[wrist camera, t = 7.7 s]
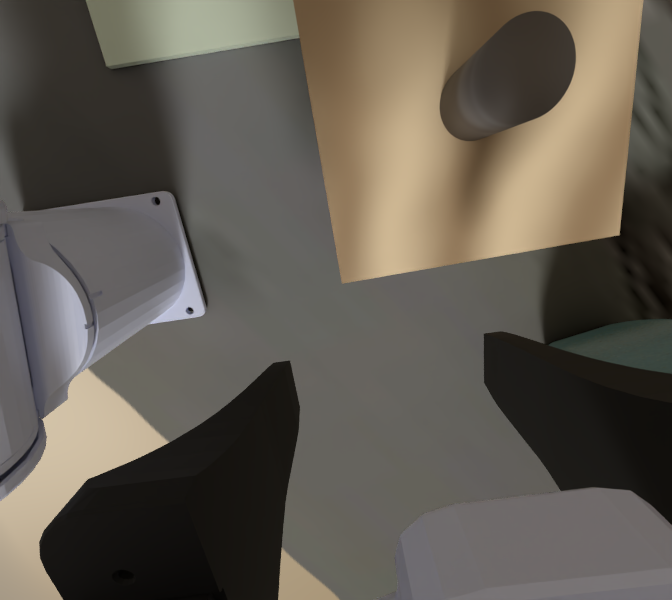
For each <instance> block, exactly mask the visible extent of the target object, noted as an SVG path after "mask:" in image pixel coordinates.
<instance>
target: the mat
mask: <svg viewBox="0 0 672 600" xmlns="http://www.w3.org/2000/svg"><path fill="white" fill-rule="evenodd" d="M86 3H87V6H88V9H89V12H90V16H91V19H92V22H93V25H94V28H95V32H96V35H97V38H98V41H99V44H100V47H101V51H102V54H103V57H104V60H105V63H106V66H107V67H108V68H110V69H115V68H122V67H128V66H134V65H140V64H146V63H152V62H158V61H164V60H170V59H176V58H182V57H188V56H194V55H200V54H206V53H212V52H218V51H224V50H230V49H236V48H242V47H248V46H254V45H260V44H267V43H273V42H279V41H285V40H291V39H297V38H300V37H299V32H298V26H297V20H296V14H295V8H294V3H293V0H86Z"/></svg>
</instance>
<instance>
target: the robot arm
mask: <svg viewBox="0 0 672 600" xmlns="http://www.w3.org/2000/svg"><path fill="white" fill-rule="evenodd" d="M156 197H158V198H159V199H160V205H157V204H156V203H155V198H156ZM188 307H191V308H192V309H193V310H194V313H191V312H190V311H189V310H188ZM206 310H207V308H206V304H205V300H204V297H203V293H202V290H201V287H200V283H199V280H198V276H197V273H196V269H195V266H194V262H193V259H192V256H191V252H190V249H189V245H188V242H187V238H186V235H185V231H184V228H183V225H182V221H181V218H180V214H179V211H178V207H177V204H176V200H175V198H174V196H173V194H171V193H170V192H168V191H159V192H153V193H147V194H140V195H134V196H128V197H121V198H115V199H109V200H102V201H96V202H90V203H83V204H77V205H71V206H64V207H58V208H52V209H45V210H39V211H19V212H7V206H6V204H5V202H4V201H3V200H1V199H0V501H1V500H2V499H4V498H5V497H6V496H8V495H9V494H10V493H11V492H12V491H13V490H14V489H15V488H16V487H17V486H19V485H20V484H21V483H22V482H23V481H24V480H25V478H26V477H27V476H28V475H29V474H30V473H31V472H32V471H33V469H34V468H35V466H36V465H37V464H38V462H39V461H40V459H41V457H42V454H43V452H44V449H45V446H46V438H47V437H46V432H45V427H44V423H43V421H42V420H41V419H43V418H44V417H46V416H47V415H48V414H49V413H50V412H52V411H53V410H54V409H56V408H57V407H58V406H60V405H61V404H62V403H63V402H64V401H66V400H67V399H68V395H67V394H68V393H67V391H68V387H69V384H70V382H71V380H72V379H73V378H74V377H75V376H77V375H78V374H79V373H80V372H82V371H83V370H85V369H86V368H88V367H89V366H91V365H92V364H93V363H95V362H96V361H98V360H99V359H100V358H102V357H103V356H105V355H106V354H107V353H109V352H110V351H111V350H113V349H114V348H116V347H117V346H118V345H120V344H121V343H123V342H124V341H125V340H127V339H128V338H130V337H131V336H132V335H134V334H135V333H137V332H138V331H139V330H141V329H142V328H144V327H145V326H146V325H148V324H153V323H160V322H167V321H173V320H180V319H187V318H194V317H200V316H202V315H203V314H204V313H205V312H206ZM484 383H485V385H486V386H487V388H488V390H489V392H490V394H491V395H492V397H493V399H494V400H495V402H496V404H497V405H498V407H499V408H500V409H501V411H502V412H503V413H504V415H505V416H506V417H507V418H508V420H509V421H510V422H511V423H512V425H513V426H514V427H515V429H516V430H517V431H518V432H519V434H520V435H521V436H522V437H523V439H524V440H525V441H526V442H527V444H528V445H529V446H530V447H531V449H532V450H533V451H534V452H535V454H536V455H537V456H538V458H539V459H540V460H541V462H542V463H543V464H544V466H545V467H546V469H547V470H548V472H549V473H550V475H551V476H552V478H553V479H554V481H555V482H556V484H557V486H558V487H559V489H560V490H561V491H557V492H549V493H540V494H532V495H524V496H516V497H507V498H499V499H491V500H482V501H474V502H466V503H458V504H451V505H448V506H444V507H441V508H438V509H435V510H432V511H429V512H426V513H423V514H422V515H421V516H420V517H419V518H418V519H417V520H416V521H415V522H413V523H412V524H411V525H410V526H409V527H408V528H407V529H406V530H405V531H404V532H403V533H402V534H401V535H400V538H399V542H398V546H397V550H396V555H395V565H396V572H397V580H398V585H397V591H396V592H393V593H390V594H388V595H385V596H382V597H380V598H377V599H374V600H672V374H670V373H664V372H657V371H651V370H645V369H639V368H634V367H629V366H624V365H620V364H615V363H610V362H606V361H602V360H597V359H593V358H590V357H586V356H582V355H579V354H575V353H572V352H568V351H565V350H562V349H558V348H555V347H552V346H549V345H546V344H543V343H539V342H536V341H533V340H530V339H527V338H524V337H521V336H517V335H514V334H510V333H506V332H501V331H500V332H493V333H486V334H484ZM299 413H300V406H299V401H298V396H297V392H296V387H295V382H294V378H293V373H292V368H291V364H290V361H284V362H276V363H273V364H272V365H271V366H269V367H268V368H267V369H266V370H265V371H264V372H263V373H262V374H261V375H260V376H259V377H258V378H257V379H256V380H255V381H254V382H252V383H251V384H250V385H249V386H248V387H247V388H246V389H245V390H244V391H243V392H242V393H240V394H239V395H238V396H237V397H236V398H235V399H233V400H232V401H231V402H230V403H229V404H228V405H226V406H225V407H224V408H222V409H221V410H220V411H219V412H217V413H216V414H214V415H213V416H212V417H210V418H209V419H207V420H206V421H204V422H203V423H202V424H200V425H198V426H197V427H195V428H194V429H192V430H190V431H189V432H187V433H185V434H184V435H182V436H180V437H178V438H177V439H175V440H173V441H172V442H170V443H168V444H166V445H164V446H162V447H161V448H158V449H156V450H154V451H153V452H150V453H148V454H146V455H144V456H142V457H140V458H138V459H136V460H134V461H131V462H129V463H127V464H124V465H122V466H119V467H117V468H115V469H112V470H110V471H107V472H105V473H103V474H100V475H98V476H95V477H93V478H90V479H88V480H87V481H86V482H85V483H84V484H83V485H82V487H81V488H80V489H79V490H78V491H77V492H76V494H75V495H74V496H73V497H72V498H71V499H70V501H69V502H68V503H67V504H66V505H65V507H64V508H63V509H62V510H61V511H60V512H59V513H58V515H57V516H56V517H55V518H54V519H53V520H52V522H51V523H50V524H49V525H48V526H47V528H46V529H45V530H44V532H43V534H42V537H41V540H40V542H39V544H40V559H41V561H42V563H43V566H44V568H45V570H46V572H47V574H48V575H49V577H50V579H51V580H52V582H53V583H54V585H55V587H56V588H57V590H58V592H59V593H60V595H61V597H62V598H63V600H278V591H279V574H280V559H281V547H282V534H283V523H284V512H285V501H286V495H287V488H288V483H289V478H290V473H291V468H292V463H293V457H294V452H295V447H296V442H297V436H298V430H299ZM39 417H40V418H39Z"/></svg>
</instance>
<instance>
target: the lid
mask: <svg viewBox="0 0 672 600" xmlns="http://www.w3.org/2000/svg"><path fill="white" fill-rule="evenodd" d="M293 3H294V8H295V14H296V20H297V26H298V32H299V37H300V43H301V49H302V55H303V60H304V66H305V72H306V78H307V84H308V89H309V95H310V101H311V107H312V113H313V118H314V124H315V130H316V136H317V141H318V147H319V153H320V159H321V165H322V170H323V176H324V182H325V188H326V194H327V199H328V205H329V211H330V217H331V222H332V228H333V234H334V240H335V246H336V251H337V257H338V263H339V269H340V274H341V280H342V283H348V282H354V281H359V280H365V279H371V278H377V277H382V276H388V275H394V274H400V273H405V272H411V271H417V270H423V269H428V268H434V267H440V266H445V265H451V264H457V263H463V262H468V261H474V260H480V259H486V258H491V257H497V256H503V255H509V254H514V253H520V252H526V251H532V250H537V249H543V248H549V247H554V246H560V245H566V244H572V243H577V242H583V241H589V240H595V239H600V238H606V237H612V236H618V235H619V234H620V224H621V215H622V205H623V195H624V185H625V175H626V165H627V155H628V145H629V136H630V126H631V116H632V106H633V96H634V86H635V76H636V67H637V57H638V47H639V37H640V27H641V17H642V7H643V0H293Z"/></svg>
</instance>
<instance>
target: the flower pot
mask: <svg viewBox="0 0 672 600" xmlns="http://www.w3.org/2000/svg"><path fill="white" fill-rule="evenodd" d="M549 346H552V347H555V348H558V349H562V350H565V351H568V352H572V353H575V354H579V355H582V356H586V357H590V358H593V359H597V360H602V361H606V362H610V363H615V364H620V365H624V366H629V367H634V368H639V369H645V370H651V371H657V372H664V373H670V374H672V319H647V320H635V321H628V322H621V323H615V324H610V325H607V326H603V327H600V328H597V329H594V330H591V331H588V332H585V333H582V334H578V335H575V336H572V337H568V338H565V339H562V340H558V341H555V342H552V343H550V344H549Z"/></svg>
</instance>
